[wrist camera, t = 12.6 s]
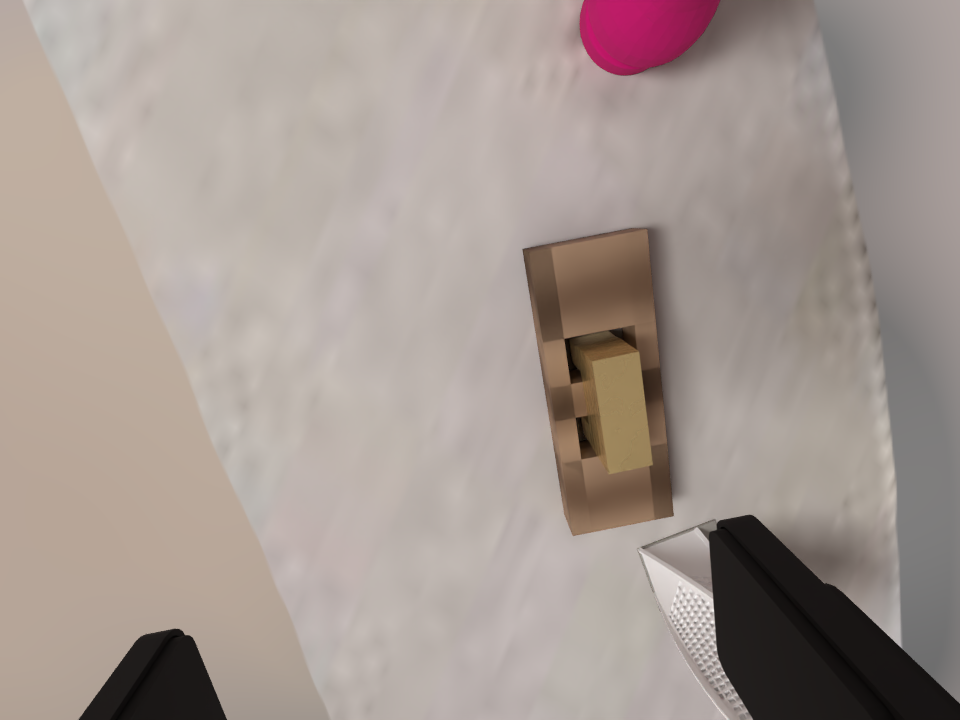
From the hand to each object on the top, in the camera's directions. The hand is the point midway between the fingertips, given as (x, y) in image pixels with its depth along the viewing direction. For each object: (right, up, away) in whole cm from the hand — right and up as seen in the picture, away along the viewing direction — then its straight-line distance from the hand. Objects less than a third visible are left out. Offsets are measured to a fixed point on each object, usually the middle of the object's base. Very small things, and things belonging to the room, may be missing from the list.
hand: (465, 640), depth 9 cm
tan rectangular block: (+9, +3, +31) cm, 32 cm away
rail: (+9, +3, +31) cm, 33 cm away
